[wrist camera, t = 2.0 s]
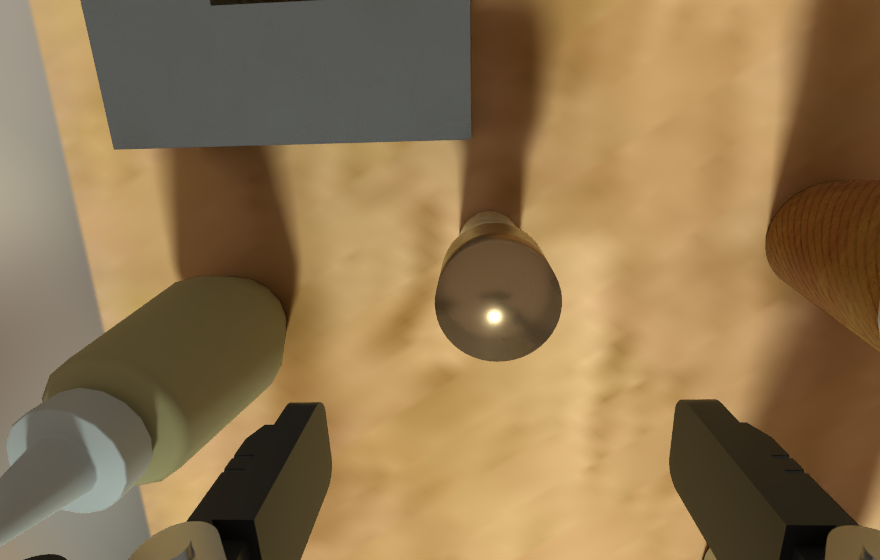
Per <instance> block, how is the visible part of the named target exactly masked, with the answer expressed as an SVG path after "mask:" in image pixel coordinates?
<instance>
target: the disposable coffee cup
mask: <svg viewBox="0 0 880 560" xmlns="http://www.w3.org/2000/svg"><path fill="white" fill-rule="evenodd" d="M766 254H767V259H768V262H769V264H770V266H771V268H772V270H773V271H774V272H775V273H776V275H777V276H778V277H779V278H780V279H782V280H783V281H784V282H786V283H787V284H789V285H790V286H791V287H793V288H794V289H795V290H797V291H798V292H800V293H801V294H802V295H803V296H805V297H806V298H808V299H809V300H810V301H811V302H813V303H814V304H816V305H817V306H818V307H820V308H821V309H822V310H823V311H825V312H826V313H828V314H829V315H830V316H831V317H833V318H834V319H836V320H837V321H838V322H840V323H841V324H842V325H844V326H845V327H846V328H848V329H849V330H850V331H852V332H853V333H855V334H856V335H857V336H859V337H860V338H861V339H862V340H864V341H865V342H866V343H868V344H869V345H871V346H872V347H873V348H875V349H876V350H877V351H879V352H880V180H877V181H876V180H868V181H865V180H863V181H831V182H824V183H820V184H817V185H814V186H811V187H809V188H807V189H805V190H803V191H802V192H800V193H798V194H796V195H795V196H794V197H792V198H791V199H790V200H789V201H788V202H787V203H786V204H785V205H784V206H783V207H782V208H781V209H780V210H779V212H778V213H777V214H776V216H775V217H774V219H773V221H772V223H771V225H770V227H769V230H768V234H767V238H766Z"/></svg>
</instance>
